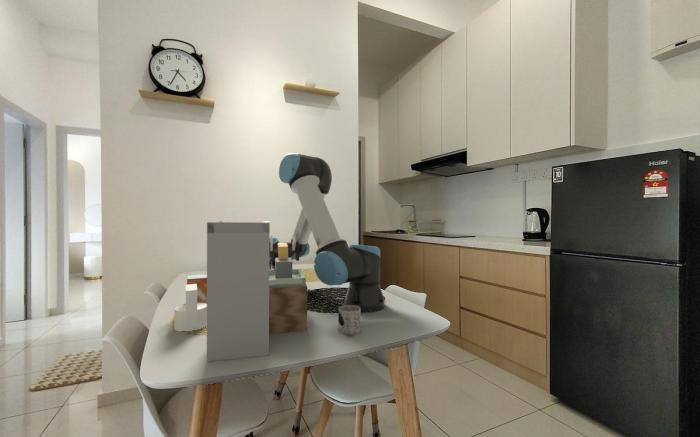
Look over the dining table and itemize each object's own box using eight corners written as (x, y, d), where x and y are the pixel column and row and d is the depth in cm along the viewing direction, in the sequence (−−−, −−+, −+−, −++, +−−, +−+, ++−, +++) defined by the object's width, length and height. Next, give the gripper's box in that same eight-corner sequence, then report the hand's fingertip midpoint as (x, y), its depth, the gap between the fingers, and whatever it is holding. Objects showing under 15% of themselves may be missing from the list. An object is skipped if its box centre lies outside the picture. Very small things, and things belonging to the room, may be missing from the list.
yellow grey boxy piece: (288, 270, 113) (288, 242, 112) (292, 281, 94) (292, 248, 94) (274, 270, 111) (274, 243, 111) (275, 281, 93) (275, 248, 93)
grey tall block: (268, 335, 87) (269, 221, 87) (268, 355, 75) (269, 222, 75) (215, 340, 84) (216, 221, 83) (206, 361, 71) (207, 222, 71)
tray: (300, 275, 107) (300, 268, 107) (305, 286, 92) (305, 278, 92) (264, 277, 104) (264, 270, 104) (263, 288, 88) (263, 279, 88)
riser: (301, 312, 108) (301, 275, 108) (307, 330, 91) (307, 286, 91) (262, 315, 104) (263, 277, 104) (261, 334, 88) (261, 289, 88)
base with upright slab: (208, 328, 92) (208, 288, 92) (173, 333, 88) (173, 292, 88) (206, 319, 100) (206, 282, 100) (174, 323, 96) (174, 285, 96)
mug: (337, 326, 95) (337, 305, 95) (358, 326, 95) (359, 304, 95) (339, 339, 85) (340, 315, 85) (363, 339, 85) (363, 315, 85)
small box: (186, 318, 101) (186, 278, 101) (186, 312, 106) (186, 275, 106) (213, 314, 104) (213, 276, 104) (212, 309, 110) (212, 273, 110)
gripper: (306, 271, 124) (313, 248, 104) (254, 273, 119) (252, 250, 99) (305, 254, 127) (311, 229, 108) (255, 255, 122) (252, 229, 103)
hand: (283, 239), depth 104 cm, fingers open, 7 cm apart
